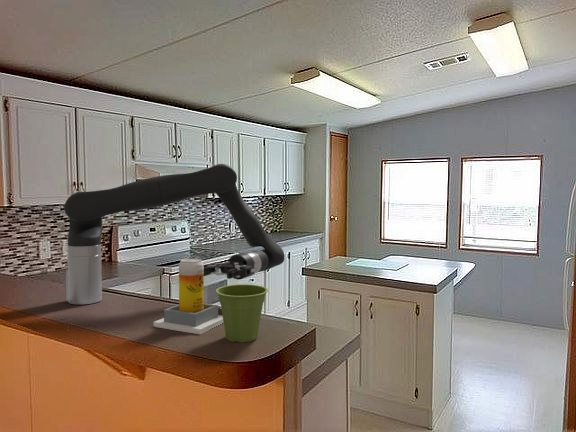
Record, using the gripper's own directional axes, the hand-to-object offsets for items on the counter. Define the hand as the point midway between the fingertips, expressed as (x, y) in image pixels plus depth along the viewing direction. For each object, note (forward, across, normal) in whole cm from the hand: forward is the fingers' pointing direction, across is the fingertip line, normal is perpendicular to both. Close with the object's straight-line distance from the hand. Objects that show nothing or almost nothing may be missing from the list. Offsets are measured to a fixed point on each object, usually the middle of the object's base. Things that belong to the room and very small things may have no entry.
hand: (214, 273), depth 120 cm
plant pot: (+14, +17, +11) cm, 25 cm away
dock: (+10, 0, +11) cm, 15 cm away
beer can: (+10, 0, +10) cm, 14 cm away
